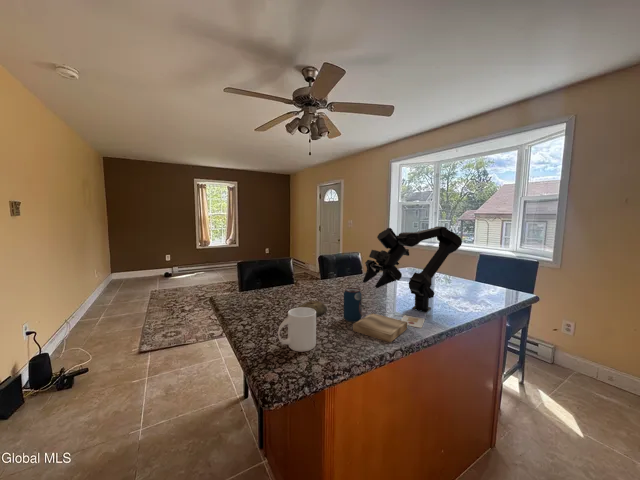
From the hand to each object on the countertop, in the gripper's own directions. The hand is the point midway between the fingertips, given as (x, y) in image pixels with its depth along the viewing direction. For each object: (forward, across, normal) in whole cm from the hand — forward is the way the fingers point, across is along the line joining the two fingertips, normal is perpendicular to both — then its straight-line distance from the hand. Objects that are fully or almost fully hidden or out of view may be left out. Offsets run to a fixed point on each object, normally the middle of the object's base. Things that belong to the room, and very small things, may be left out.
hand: (369, 284), depth 104 cm
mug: (+34, +14, -14) cm, 39 cm away
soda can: (+15, 0, +4) cm, 15 cm away
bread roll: (+23, -14, -4) cm, 28 cm away
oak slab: (+11, +12, +7) cm, 18 cm away
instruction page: (0, +10, +19) cm, 21 cm away
